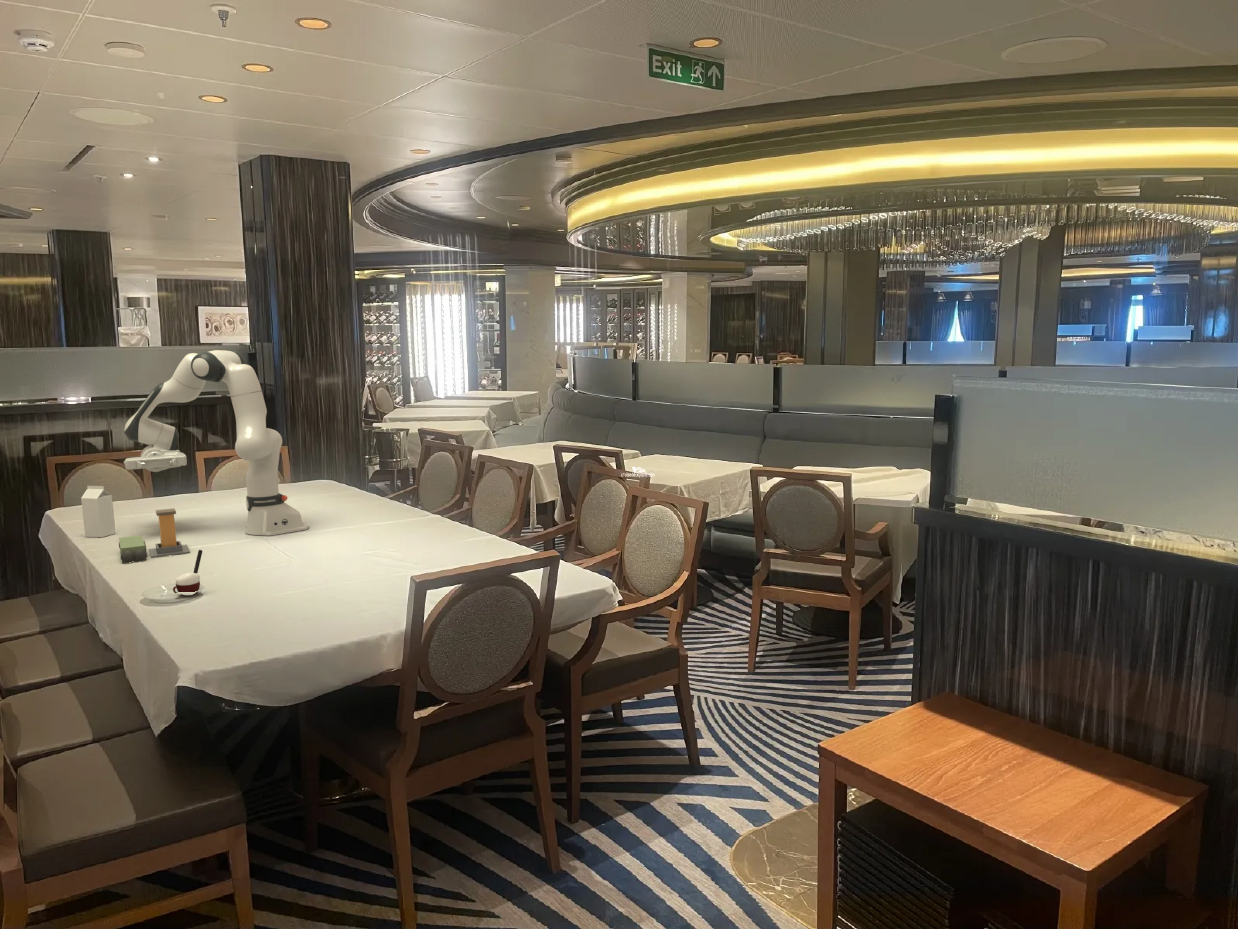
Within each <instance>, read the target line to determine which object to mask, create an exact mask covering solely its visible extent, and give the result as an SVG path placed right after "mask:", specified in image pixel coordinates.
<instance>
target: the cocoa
mask: <svg viewBox="0 0 1238 929" xmlns="http://www.w3.org/2000/svg"><path fill="white" fill-rule="evenodd" d="M202 555H203V549H199V550H197V555H196V560H195V565H194V568H193V572H186V573H183V574H181V575H179V576H178V577H176V578H175V586H174V587H173V588H172V592H173V593H174V594H176V593H178V592H195V591H198V590H199V591H200V587H201V581H200V580H201V578H200V574H198V573H199V569H200V565H201V560H202ZM176 590H177V591H176ZM199 591H198V592H199Z"/></svg>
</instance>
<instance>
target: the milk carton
mask: <svg viewBox="0 0 1238 929" xmlns="http://www.w3.org/2000/svg"><path fill="white" fill-rule="evenodd" d="M86 488H87V489H86V490H85V491H84V493H83V495H82V496H81V498H80V499H81V500H80V501H81V509H82V520H83V527H84V528H83V530H84V536H85V538H98V537H102V538H104V537H107V536H112V535H114V534H116V533H117V532H116V525H115V524H116V522H115V514H114V503H113V495H112V494H111V493H110V492H109V491H108V490H106V489H105V486H104V485H87V486H86Z"/></svg>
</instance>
